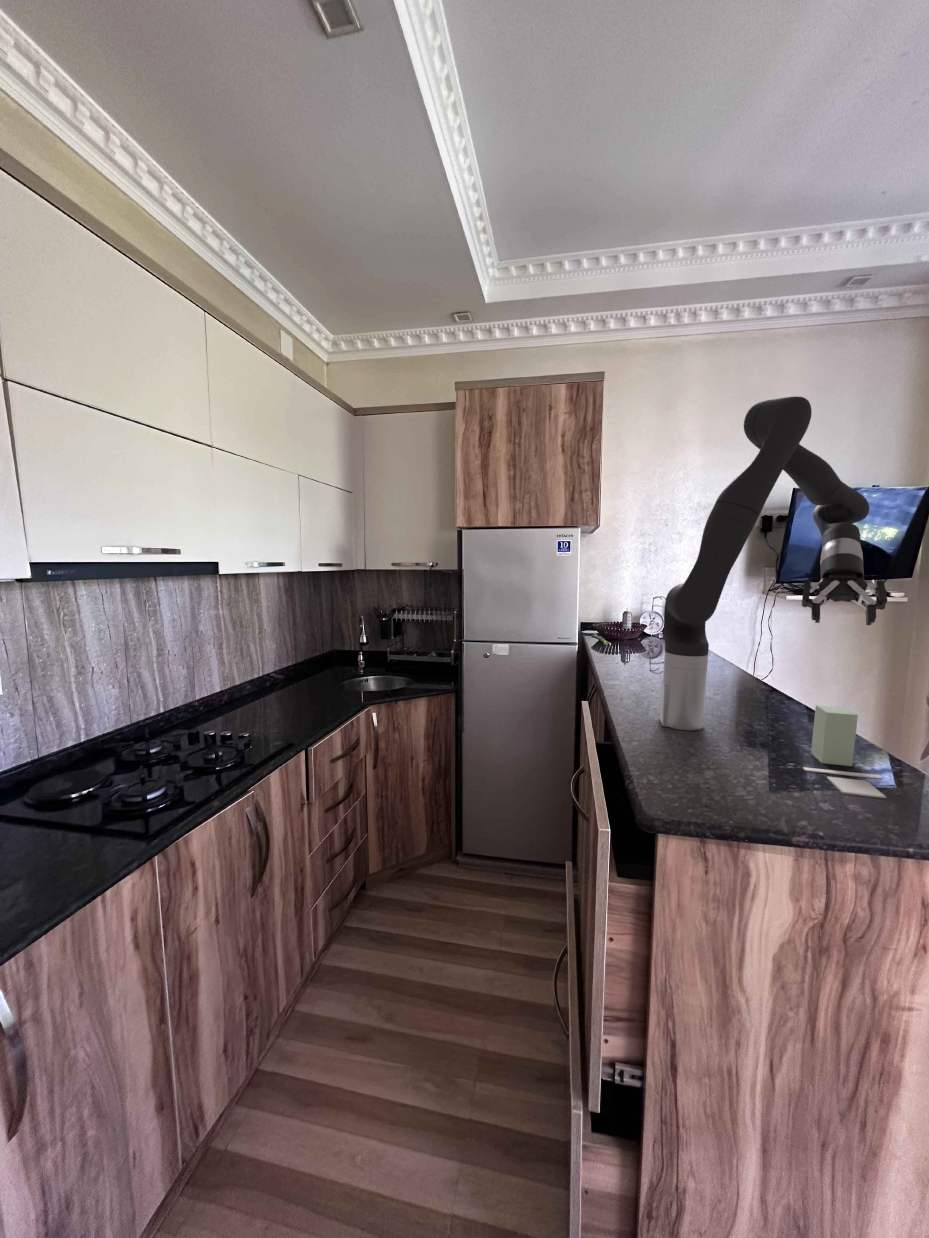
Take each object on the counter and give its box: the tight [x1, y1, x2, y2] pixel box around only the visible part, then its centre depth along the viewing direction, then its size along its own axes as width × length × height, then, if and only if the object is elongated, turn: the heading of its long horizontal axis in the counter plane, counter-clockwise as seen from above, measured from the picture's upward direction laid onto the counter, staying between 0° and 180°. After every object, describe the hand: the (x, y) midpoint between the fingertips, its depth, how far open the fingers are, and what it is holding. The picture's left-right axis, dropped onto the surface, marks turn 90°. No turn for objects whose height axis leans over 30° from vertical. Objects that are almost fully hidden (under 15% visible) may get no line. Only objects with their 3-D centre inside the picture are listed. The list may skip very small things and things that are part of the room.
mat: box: [826, 776, 887, 799], centre depth 83 cm, size 6×6×1 cm
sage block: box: [810, 704, 859, 767], centre depth 95 cm, size 5×5×10 cm
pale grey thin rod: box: [802, 766, 884, 780], centre depth 89 cm, size 12×1×1 cm, turn 74°
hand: (843, 621), depth 101 cm, fingers open, 8 cm apart
